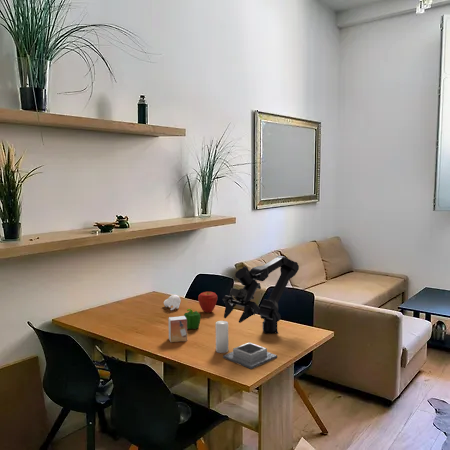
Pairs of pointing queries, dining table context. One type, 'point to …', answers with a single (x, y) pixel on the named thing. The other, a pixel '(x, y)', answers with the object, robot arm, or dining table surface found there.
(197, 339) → the dining table surface
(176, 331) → the small box
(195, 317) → the bell pepper
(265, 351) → the duct collar
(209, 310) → the apple
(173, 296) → the white animal figurine
